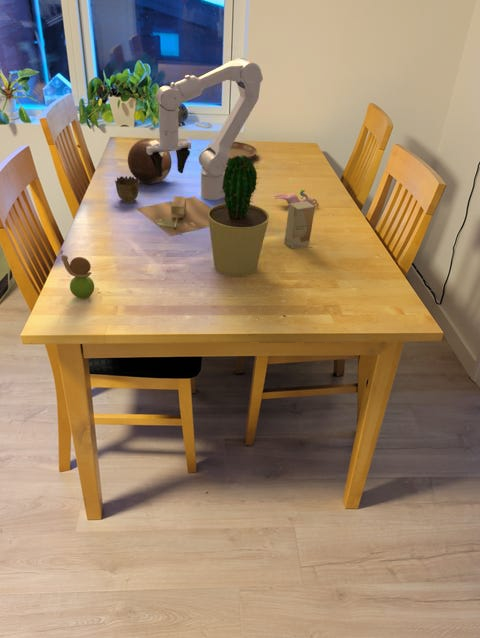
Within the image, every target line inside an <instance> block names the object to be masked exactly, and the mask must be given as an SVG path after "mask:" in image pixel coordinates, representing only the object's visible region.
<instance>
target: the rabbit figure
mask: <svg viewBox="0 0 480 638" xmlns="http://www.w3.org/2000/svg"><path fill="white" fill-rule="evenodd" d="M299 195H300V196H301V198H299V196H298V195H297V194H296V193H289V194H285V193H277V194H275V195H274V196H273V197H274V199H275V200H277V199H282V200H285V201H286V203H287V204H288V205H289V204H290V203H297V202H305V201H308V202H309V203H311V204H312V205H314V206H315V205H316V208H318V207H319V202H318V199H315V198H311V197H309V196H308V194H306V193H305V190H304V189H302V190H300V192H299Z"/></svg>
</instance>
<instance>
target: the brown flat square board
mask: <svg viewBox="0 0 480 638" xmlns="http://www.w3.org/2000/svg"><path fill="white" fill-rule="evenodd" d="M172 202H173V200H171V201H166V202H162V203H157V204H152V205H146V206H142V207H136V209H137V210H138V211H139V212H140V213H142V214H143V216H145V217H146V218H148V219H149V220H150V221H151V222H153V223H154V224H155V225H156V226H157V227H159V229H161V230H163V231H164V232H165V233H166V234H168V235H169V236H170V237H172V236H177V235H180V234H185V233H188V232H189V233H190V232H193V231H197V230H201V229H206V228H209V220H208V211H209V210H210V209H211V208H212V207H211V206H209V205H207V204H206V203H205V202H203V201H201V200H200V199H199V198H197V197H195V196H191V197H186V210H185V211H186V215H185V216H184V218H178V222H177V225H176V228H174V224H175V220H176V218H175V217H171V205H172Z"/></svg>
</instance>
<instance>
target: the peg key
mask: <svg viewBox="0 0 480 638" xmlns="http://www.w3.org/2000/svg"><path fill="white" fill-rule="evenodd" d="M186 198H187V196H182V195H181V196H180V195H179V196H177V195H174V196H173V199H172V201H173V202H172V205H171V217H175V218H176V220H175V224H174V228H176V225H177V222H178V218H184V216H185V215H186V211H185V210H186Z"/></svg>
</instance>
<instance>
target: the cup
mask: <svg viewBox="0 0 480 638" xmlns="http://www.w3.org/2000/svg"><path fill="white" fill-rule="evenodd" d="M114 182H115V189H116V193H117V195H118V197H119V199H120V200H122V202H123V203H133V202H134V201H135V200H136V199H137V198H138V194H139V189H140V186H139V185H140V181H139V179H137V178H135V177H134V176H129V177H128V176H125V177H124V176H119V177H116V179H114Z"/></svg>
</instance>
